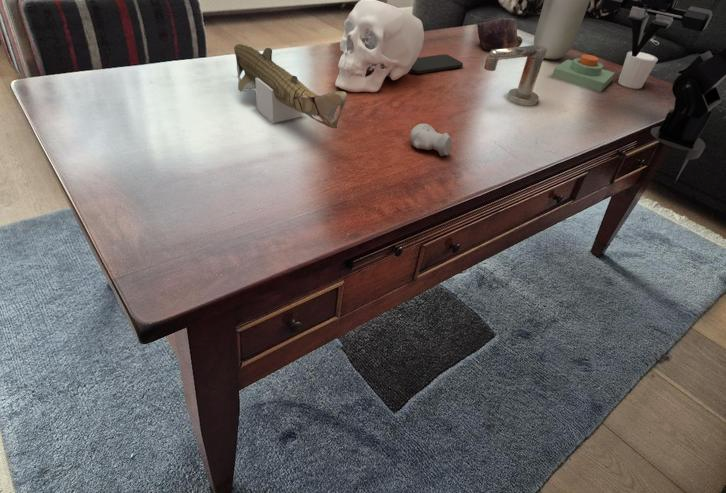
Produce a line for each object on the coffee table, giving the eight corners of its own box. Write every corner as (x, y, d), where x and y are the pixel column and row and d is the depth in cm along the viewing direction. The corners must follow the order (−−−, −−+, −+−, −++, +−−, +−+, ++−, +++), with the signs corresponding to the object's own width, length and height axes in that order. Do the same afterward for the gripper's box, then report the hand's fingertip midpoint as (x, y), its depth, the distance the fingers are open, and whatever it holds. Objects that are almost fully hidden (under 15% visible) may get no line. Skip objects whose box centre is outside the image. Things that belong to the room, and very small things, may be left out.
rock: (487, 46, 136) (465, 50, 130) (492, 13, 132) (469, 16, 126) (523, 52, 129) (501, 57, 123) (529, 17, 124) (507, 20, 118)
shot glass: (623, 77, 122) (635, 49, 118) (649, 86, 119) (663, 57, 114) (610, 81, 119) (622, 53, 114) (636, 91, 115) (650, 62, 110)
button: (597, 65, 116) (600, 57, 115) (593, 68, 114) (596, 61, 113) (581, 60, 118) (584, 53, 117) (576, 64, 115) (579, 56, 114)
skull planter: (307, 72, 100) (343, -22, 94) (362, 96, 116) (396, 17, 111) (353, 95, 93) (395, -5, 88) (405, 117, 109) (443, 34, 104)
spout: (533, 59, 101) (539, 41, 99) (545, 65, 99) (551, 47, 97) (480, 66, 95) (484, 47, 93) (491, 72, 93) (496, 53, 91)
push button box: (611, 81, 119) (618, 65, 116) (600, 92, 113) (607, 75, 110) (564, 67, 124) (570, 51, 121) (551, 77, 117) (557, 60, 115)
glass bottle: (544, 49, 134) (582, -69, 117) (574, 61, 128) (619, -61, 110) (521, 53, 130) (557, -69, 112) (551, 66, 124) (594, -61, 106)
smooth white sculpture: (403, 148, 85) (424, 134, 87) (434, 168, 80) (456, 152, 82) (400, 128, 82) (423, 114, 83) (433, 147, 77) (456, 132, 79)
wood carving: (317, 168, 75) (319, 100, 68) (220, 87, 95) (214, 27, 88) (362, 154, 80) (369, 89, 73) (261, 80, 100) (258, 23, 93)
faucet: (541, 100, 105) (555, 57, 100) (530, 108, 101) (544, 64, 95) (514, 91, 108) (526, 49, 102) (502, 98, 104) (515, 55, 98)
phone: (397, 60, 114) (446, 53, 121) (396, 63, 115) (445, 57, 121) (415, 71, 109) (465, 63, 116) (414, 75, 110) (464, 67, 117)
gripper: (735, -27, 87) (691, 60, 97) (630, -45, 95) (599, 36, 105) (728, -20, 80) (681, 72, 90) (615, -41, 88) (583, 47, 98)
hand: (634, 56), depth 96 cm, fingers closed
